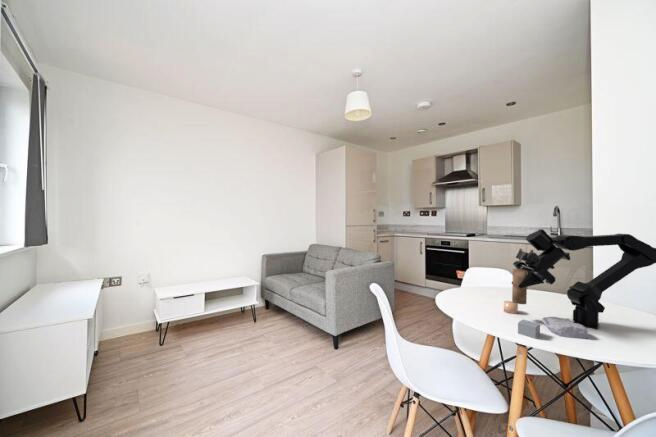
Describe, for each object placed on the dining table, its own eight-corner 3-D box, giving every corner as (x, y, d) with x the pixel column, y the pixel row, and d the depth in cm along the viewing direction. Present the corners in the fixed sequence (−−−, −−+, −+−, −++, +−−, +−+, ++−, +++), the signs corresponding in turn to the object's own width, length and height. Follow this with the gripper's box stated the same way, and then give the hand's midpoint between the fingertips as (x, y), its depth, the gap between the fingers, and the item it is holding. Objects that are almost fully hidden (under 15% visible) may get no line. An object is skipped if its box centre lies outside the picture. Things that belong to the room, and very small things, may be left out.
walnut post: (527, 302, 105) (528, 270, 105) (524, 305, 102) (525, 271, 102) (514, 299, 109) (514, 268, 109) (510, 302, 106) (511, 269, 106)
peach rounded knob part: (519, 312, 114) (519, 303, 114) (515, 315, 111) (515, 305, 111) (505, 309, 118) (505, 300, 118) (501, 311, 115) (502, 302, 115)
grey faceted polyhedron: (539, 335, 92) (540, 323, 92) (535, 339, 89) (535, 327, 89) (522, 330, 96) (522, 319, 96) (517, 333, 93) (518, 322, 93)
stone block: (559, 342, 90) (592, 339, 89) (556, 328, 91) (588, 325, 89) (538, 329, 102) (567, 326, 100) (535, 317, 102) (564, 313, 101)
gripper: (518, 242, 114) (490, 266, 116) (546, 246, 95) (512, 275, 97) (538, 261, 113) (509, 285, 114) (571, 269, 94) (535, 298, 96)
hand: (515, 285), depth 106 cm, fingers closed on walnut post, 5 cm apart
